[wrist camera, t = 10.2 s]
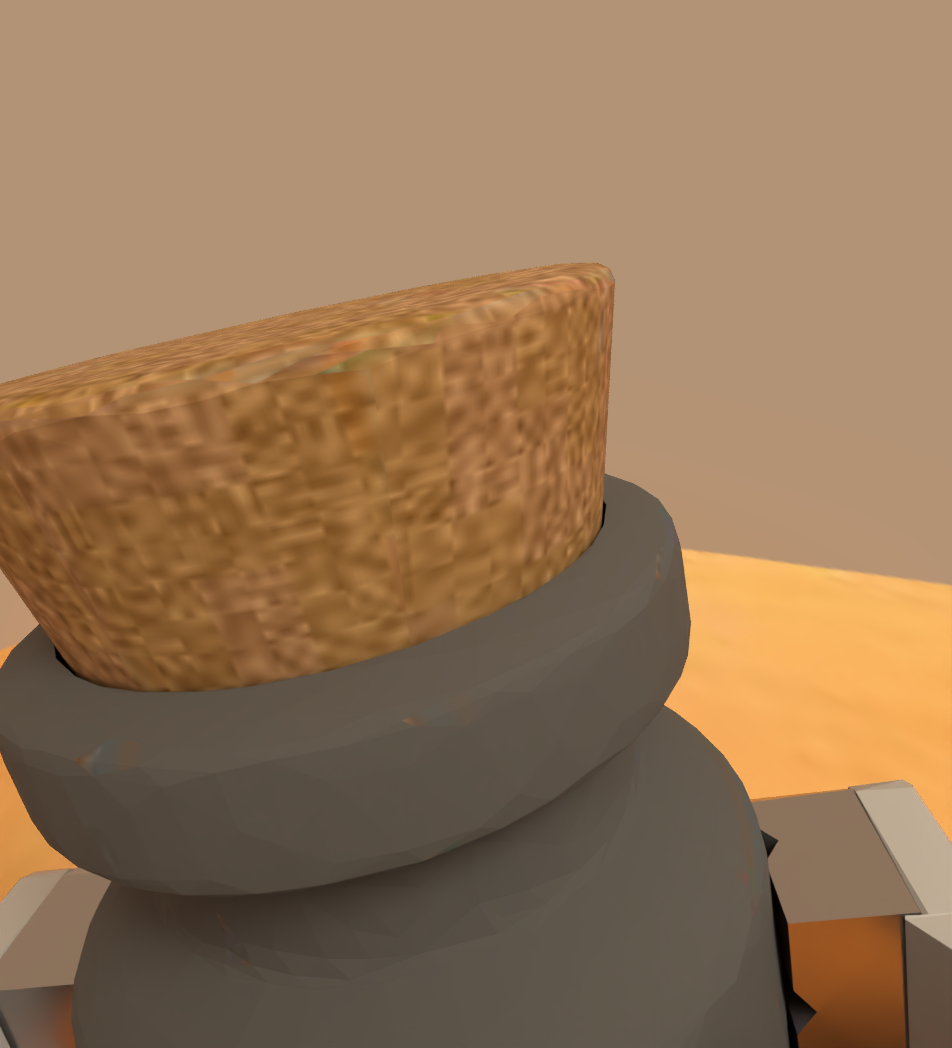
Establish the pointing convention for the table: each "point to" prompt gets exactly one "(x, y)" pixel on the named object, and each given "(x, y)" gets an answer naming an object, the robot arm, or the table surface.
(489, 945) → the bottle
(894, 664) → the table surface
